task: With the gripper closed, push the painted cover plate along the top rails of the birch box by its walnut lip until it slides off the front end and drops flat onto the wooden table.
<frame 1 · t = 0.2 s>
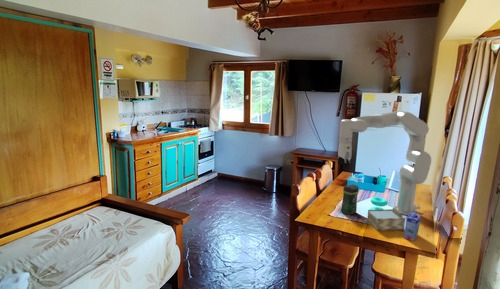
hand: (343, 166, 186), 31 cm above the table, fingers open, 9 cm apart
cover plate: (385, 216, 175), point 6 cm above the table, touching birch box
ink cartridge box: (411, 236, 164), on the table
coffee jar: (348, 212, 193), on the table
donuts: (377, 214, 192), on the table
birch box: (384, 225, 176), on the table
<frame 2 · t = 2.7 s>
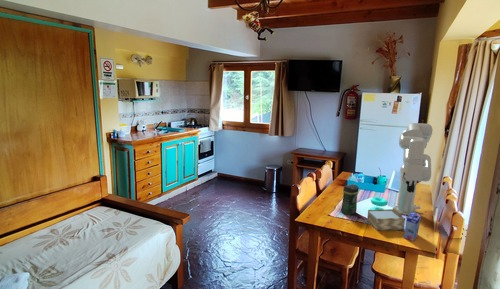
hand: (410, 191, 173), 21 cm above the table, fingers closed
nothing on the table moved.
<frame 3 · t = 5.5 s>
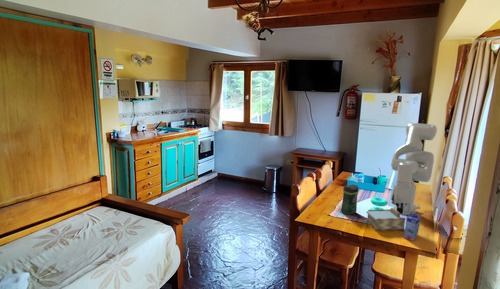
hand: (399, 213, 175), 8 cm above the table, fingers closed
cover plate: (383, 216, 175), point 6 cm above the table, touching birch box
everything else where it was.
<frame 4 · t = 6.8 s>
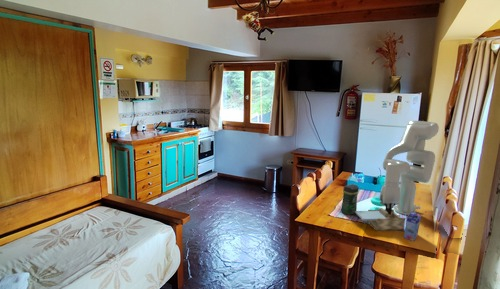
hand: (388, 213, 174), 8 cm above the table, fingers closed
cover plate: (372, 216, 174), point 6 cm above the table, touching birch box, gripper
everything else where it was.
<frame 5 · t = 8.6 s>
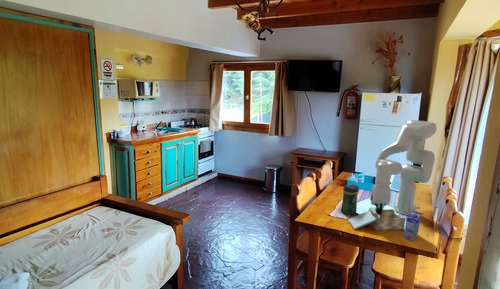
hand: (378, 213, 174), 8 cm above the table, fingers closed
cover plate: (364, 219, 175), point 4 cm above the table, tilted 27°, touching gripper
everything else where it was.
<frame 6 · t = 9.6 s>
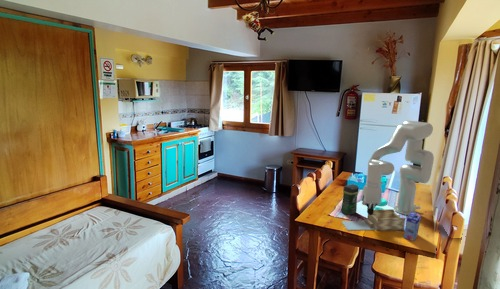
hand: (369, 214, 174), 8 cm above the table, fingers closed
cover plate: (357, 226, 175), on the table
everything else where it was.
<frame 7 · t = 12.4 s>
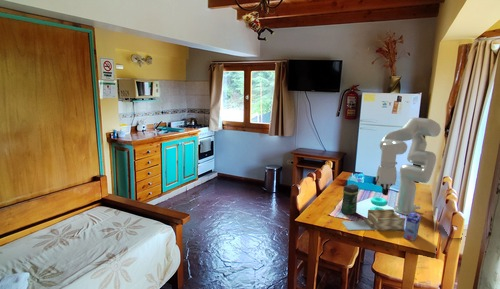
hand: (384, 194, 172), 19 cm above the table, fingers closed
nothing on the table moved.
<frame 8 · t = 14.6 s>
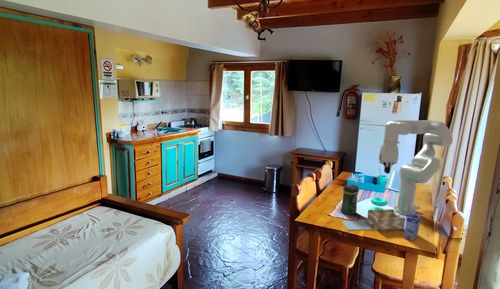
hand: (386, 172, 181), 29 cm above the table, fingers closed
nothing on the table moved.
at the end: cover plate inside the target area (4.4 cm from its centre), on the table; cover plate tilted 0°; cover plate moved 17.4 cm from its start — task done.
